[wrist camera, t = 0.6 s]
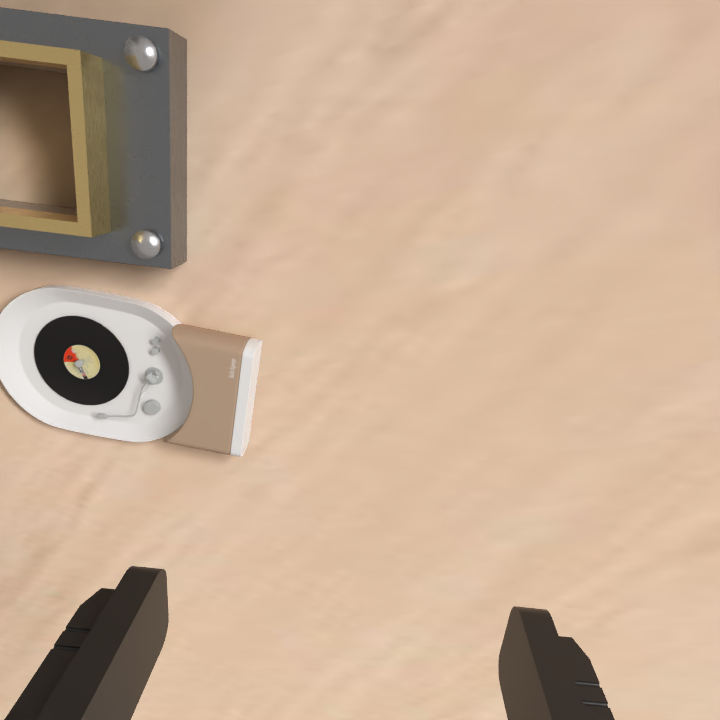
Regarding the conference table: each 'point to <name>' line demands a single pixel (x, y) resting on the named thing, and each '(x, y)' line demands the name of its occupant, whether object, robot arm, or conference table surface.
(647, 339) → the conference table surface
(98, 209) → the square socket fixture
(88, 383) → the record player
